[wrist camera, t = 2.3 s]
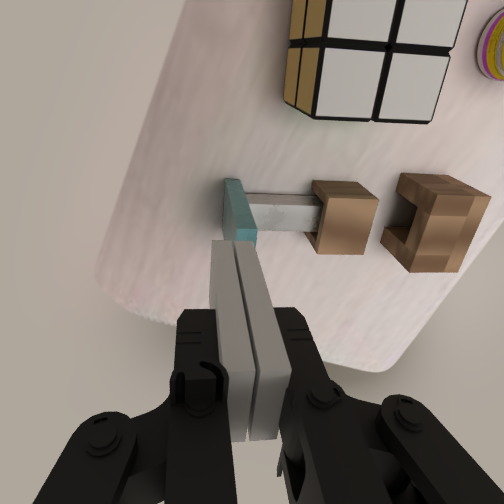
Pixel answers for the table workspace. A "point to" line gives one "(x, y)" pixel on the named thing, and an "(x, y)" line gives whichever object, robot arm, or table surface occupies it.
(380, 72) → the puzzle cube
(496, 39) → the supplement bottle
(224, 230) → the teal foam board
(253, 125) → the table surface
